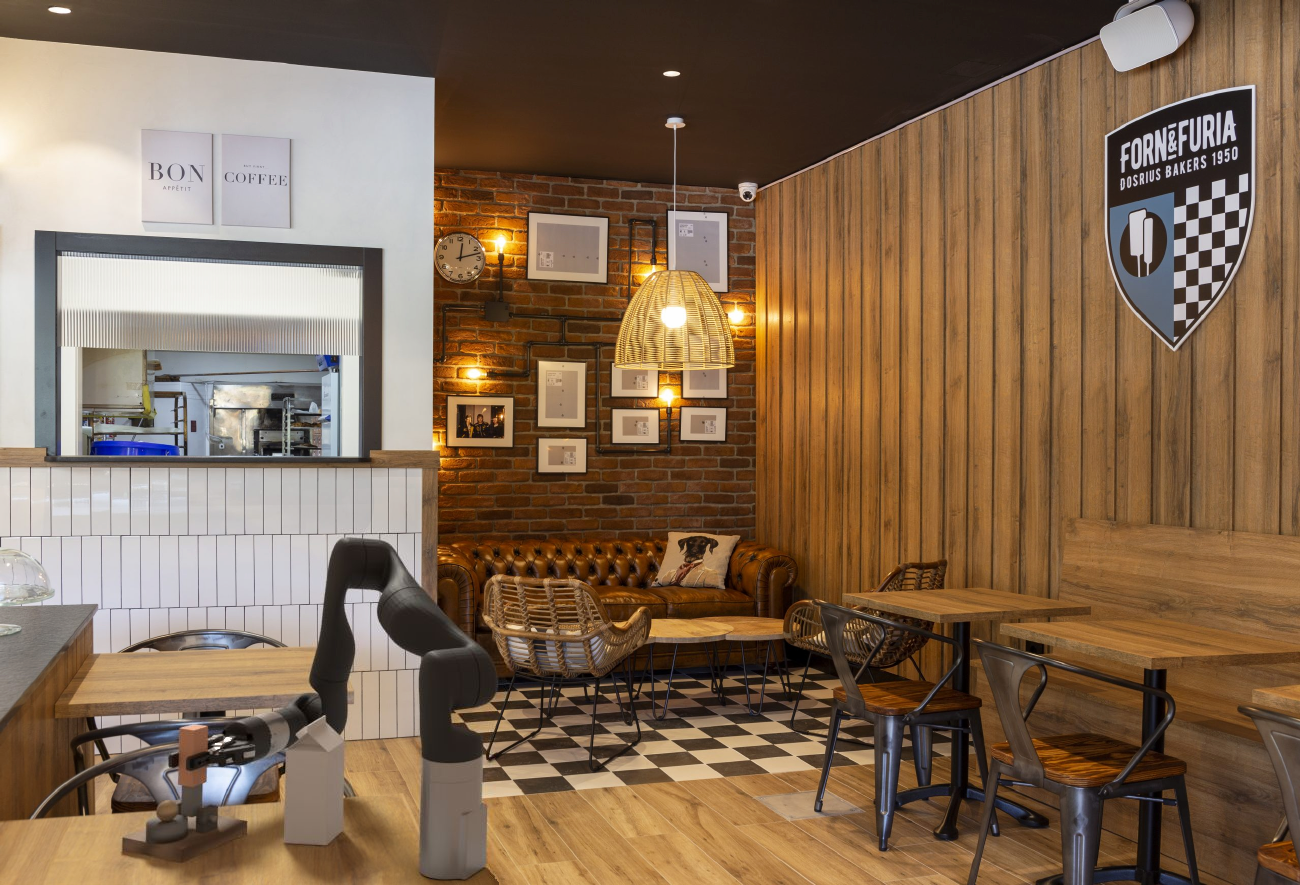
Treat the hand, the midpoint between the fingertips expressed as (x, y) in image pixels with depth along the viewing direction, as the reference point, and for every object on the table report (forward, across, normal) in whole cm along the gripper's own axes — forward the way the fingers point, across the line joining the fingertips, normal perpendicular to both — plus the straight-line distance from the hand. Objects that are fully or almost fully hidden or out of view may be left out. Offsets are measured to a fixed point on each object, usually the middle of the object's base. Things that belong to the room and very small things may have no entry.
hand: (179, 763), depth 173 cm
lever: (-3, 0, +9) cm, 9 cm away
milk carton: (-12, +17, +13) cm, 25 cm away
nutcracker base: (-2, 0, +13) cm, 13 cm away
